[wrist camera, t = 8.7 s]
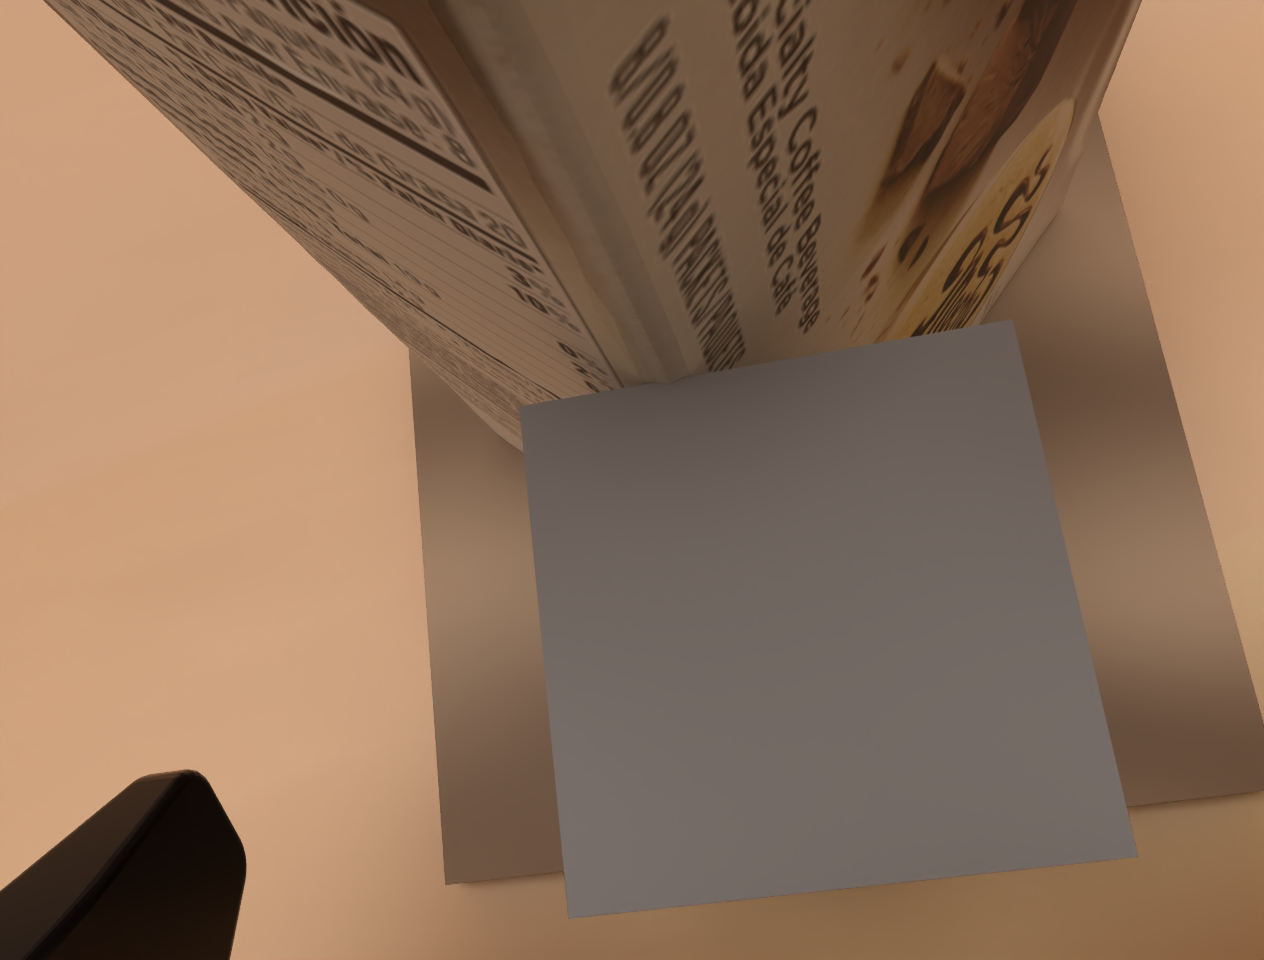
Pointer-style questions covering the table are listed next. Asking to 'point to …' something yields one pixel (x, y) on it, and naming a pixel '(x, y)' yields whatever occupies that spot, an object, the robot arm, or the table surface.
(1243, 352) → the table surface
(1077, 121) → the coffee box
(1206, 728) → the pull board
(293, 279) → the table surface
